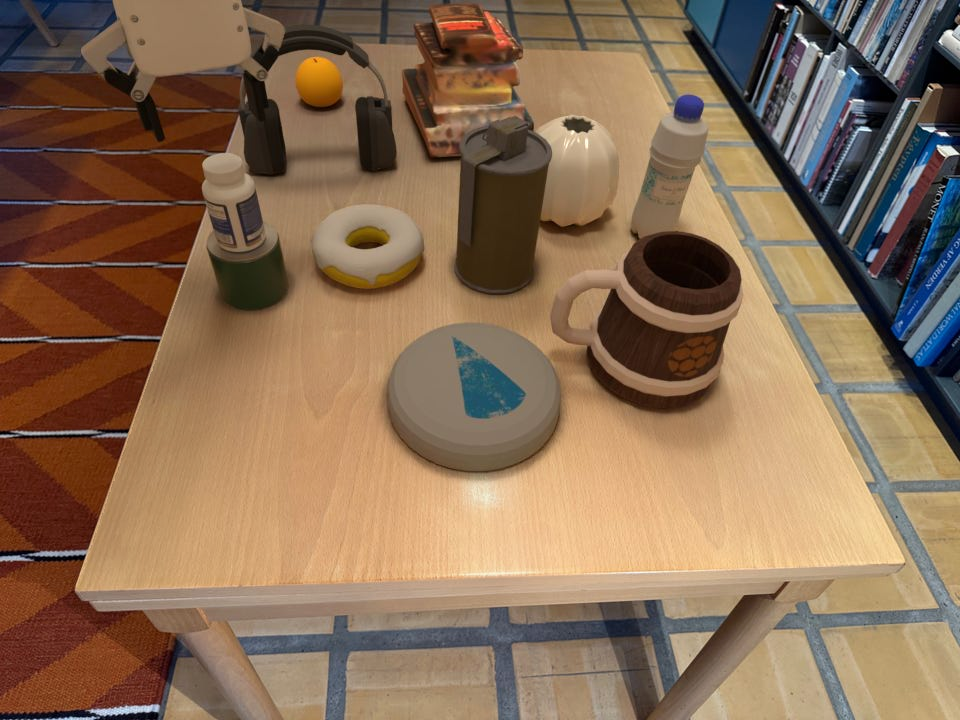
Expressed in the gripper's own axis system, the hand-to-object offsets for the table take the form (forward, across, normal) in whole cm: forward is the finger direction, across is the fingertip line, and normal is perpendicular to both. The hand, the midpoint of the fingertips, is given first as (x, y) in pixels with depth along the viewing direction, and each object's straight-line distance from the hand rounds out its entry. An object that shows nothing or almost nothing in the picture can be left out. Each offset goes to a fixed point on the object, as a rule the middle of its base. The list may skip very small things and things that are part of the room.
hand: (209, 125), depth 63 cm
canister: (+21, -29, +10) cm, 37 cm away
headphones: (+21, -19, -23) cm, 37 cm away
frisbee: (+21, -15, +28) cm, 38 cm away
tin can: (+21, -1, 0) cm, 21 cm away
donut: (+21, -15, +1) cm, 26 cm away
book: (+21, -45, -24) cm, 55 cm away
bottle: (+21, -53, +14) cm, 59 cm away
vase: (+21, -45, +4) cm, 50 cm away
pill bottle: (+14, 0, 0) cm, 14 cm away
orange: (+21, -26, -42) cm, 54 cm away
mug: (+21, -34, +32) cm, 51 cm away
